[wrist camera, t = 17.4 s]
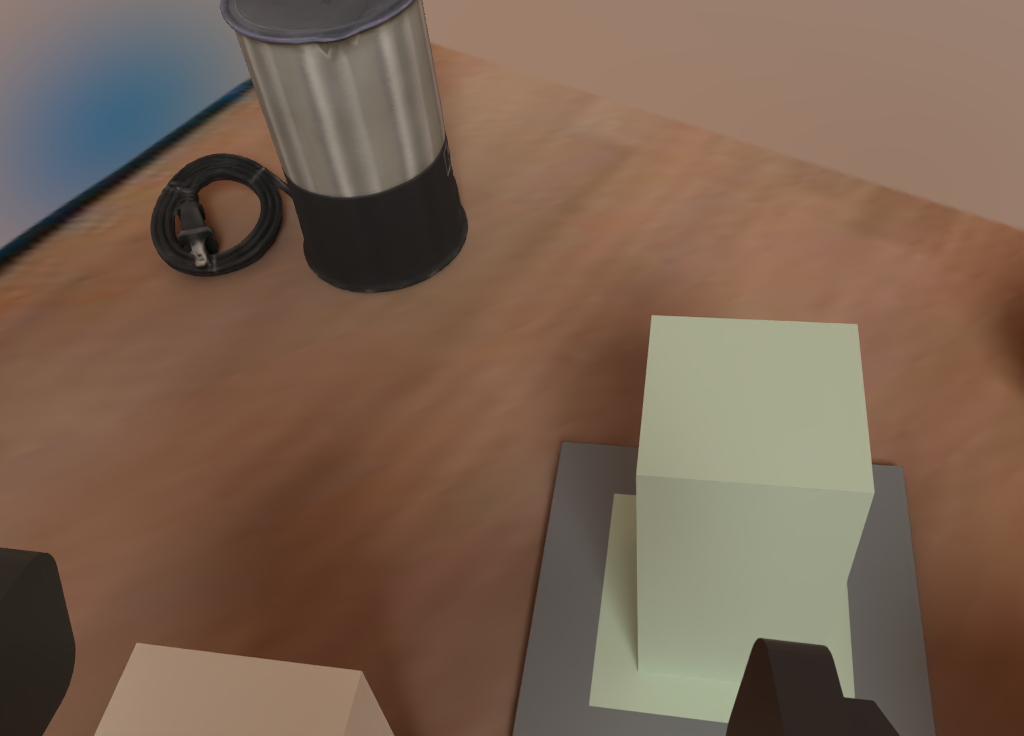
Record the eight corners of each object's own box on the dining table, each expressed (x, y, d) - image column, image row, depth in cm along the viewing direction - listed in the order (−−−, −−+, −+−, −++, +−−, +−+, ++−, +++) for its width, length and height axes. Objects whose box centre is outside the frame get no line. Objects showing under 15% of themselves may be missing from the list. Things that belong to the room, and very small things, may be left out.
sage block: (812, 691, 33) (874, 492, 24) (638, 671, 34) (636, 474, 25) (806, 542, 37) (857, 324, 28) (650, 528, 38) (651, 315, 29)
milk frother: (501, 249, 51) (462, -16, 40) (230, 381, 47) (104, 122, 36) (384, 133, 60) (327, -110, 49) (146, 235, 55) (24, -9, 45)
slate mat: (942, 835, 30) (947, 829, 29) (508, 774, 33) (506, 767, 32) (899, 475, 39) (902, 466, 39) (563, 450, 42) (562, 441, 41)
